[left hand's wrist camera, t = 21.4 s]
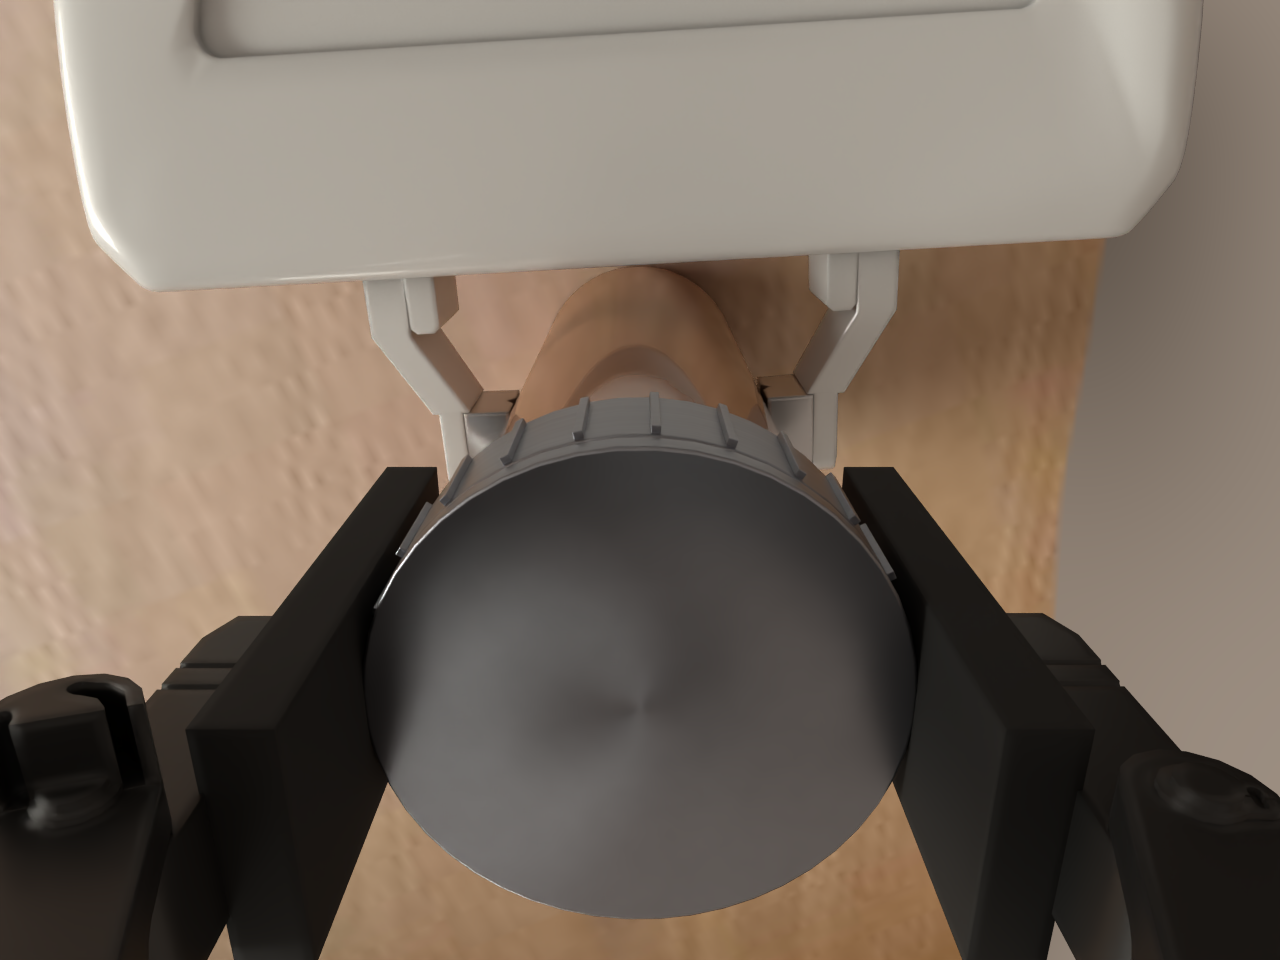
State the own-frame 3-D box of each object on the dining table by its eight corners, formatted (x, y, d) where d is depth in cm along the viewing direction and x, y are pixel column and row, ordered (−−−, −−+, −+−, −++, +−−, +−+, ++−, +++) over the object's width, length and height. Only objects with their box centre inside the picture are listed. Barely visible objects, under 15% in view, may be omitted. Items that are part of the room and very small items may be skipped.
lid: (609, 280, 10) (603, 311, 9) (980, 599, 12) (1043, 682, 10) (306, 645, 12) (246, 734, 10) (663, 885, 14) (666, 1001, 12)
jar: (527, 425, 27) (380, 800, 12) (570, 243, 25) (462, 405, 10) (703, 470, 27) (783, 886, 12) (758, 294, 25) (934, 526, 10)
